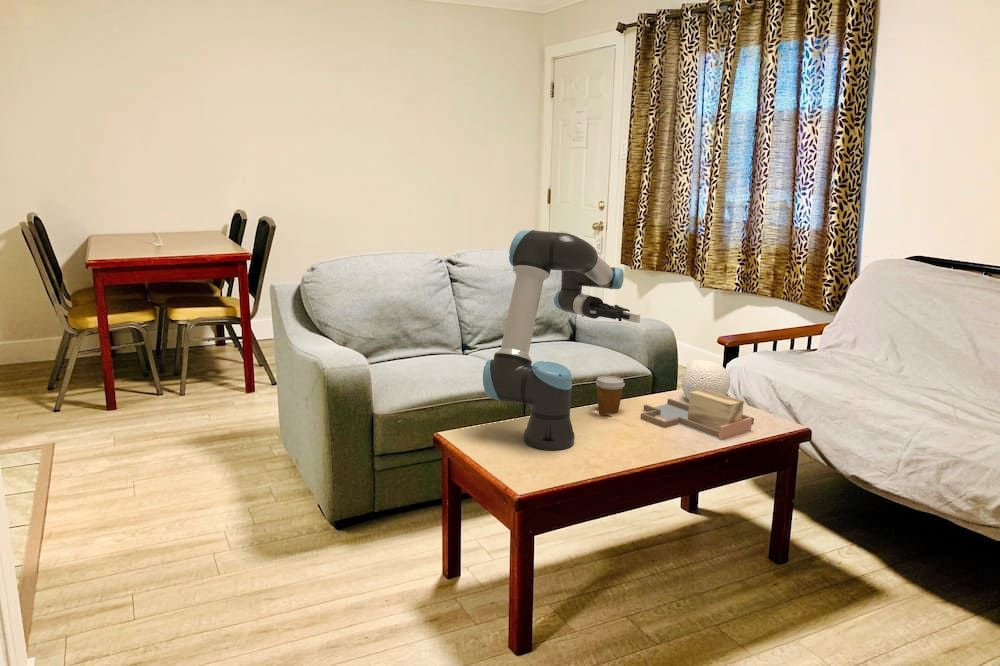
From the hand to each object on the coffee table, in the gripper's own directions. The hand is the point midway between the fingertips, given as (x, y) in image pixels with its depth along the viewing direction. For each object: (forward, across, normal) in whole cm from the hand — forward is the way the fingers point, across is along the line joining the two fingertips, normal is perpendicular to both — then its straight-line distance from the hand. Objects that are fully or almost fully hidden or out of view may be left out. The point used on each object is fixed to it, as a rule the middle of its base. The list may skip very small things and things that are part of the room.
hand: (638, 318), depth 251 cm
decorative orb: (+8, -27, -32) cm, 43 cm away
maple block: (+27, -8, -31) cm, 42 cm away
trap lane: (+20, -8, -32) cm, 38 cm away
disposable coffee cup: (-2, +9, -32) cm, 33 cm away
